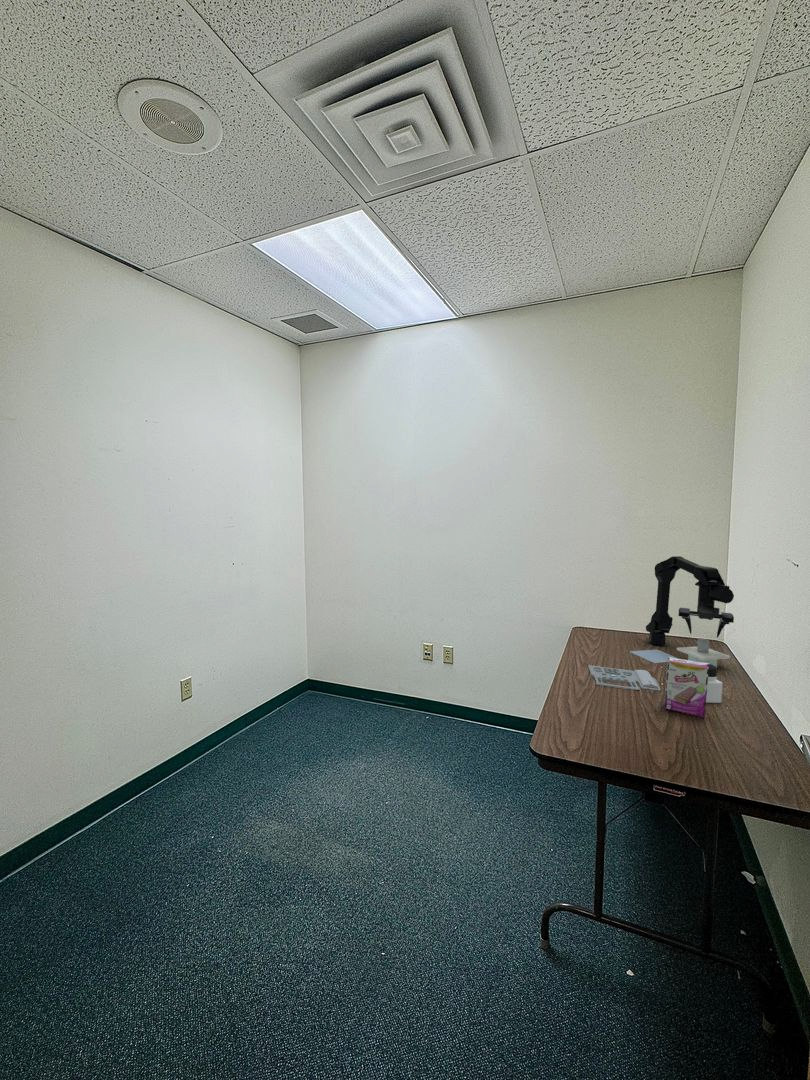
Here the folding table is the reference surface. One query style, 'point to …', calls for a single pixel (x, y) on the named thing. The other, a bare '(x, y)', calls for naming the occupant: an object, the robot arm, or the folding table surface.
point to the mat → (653, 655)
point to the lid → (703, 651)
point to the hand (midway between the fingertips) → (703, 635)
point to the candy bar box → (686, 686)
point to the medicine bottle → (713, 686)
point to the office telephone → (624, 678)
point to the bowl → (713, 662)
